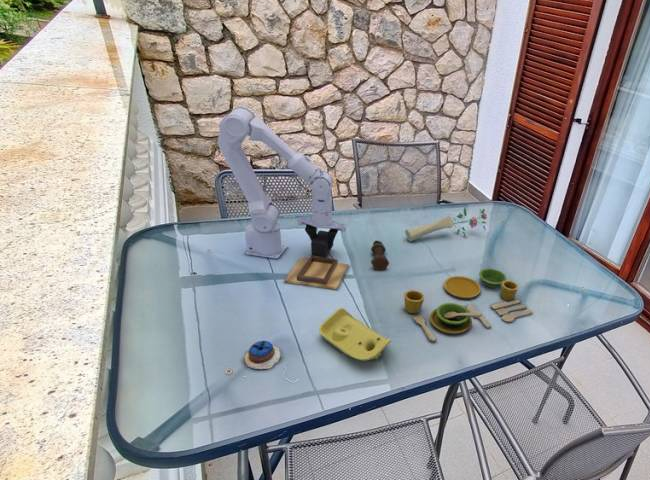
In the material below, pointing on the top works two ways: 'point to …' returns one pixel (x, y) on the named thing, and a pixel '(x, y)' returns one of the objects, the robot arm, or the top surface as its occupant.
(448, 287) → the tableware set
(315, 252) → the black rectangular block
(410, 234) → the flower vase
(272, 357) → the dessert
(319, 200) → the robot arm
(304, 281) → the mount plate
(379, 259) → the brown figurine
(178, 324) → the top surface
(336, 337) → the plastic component
